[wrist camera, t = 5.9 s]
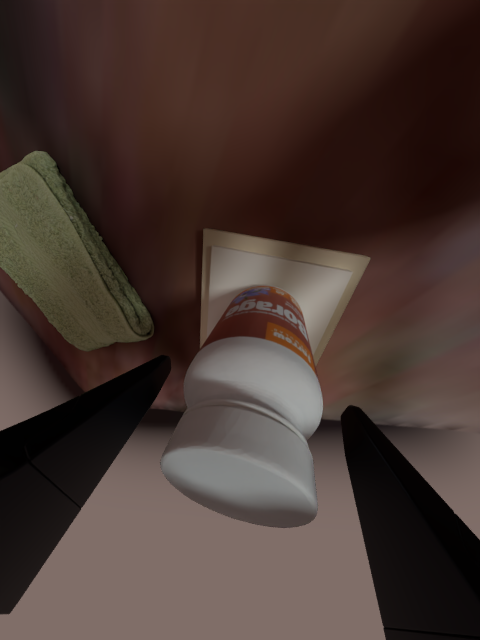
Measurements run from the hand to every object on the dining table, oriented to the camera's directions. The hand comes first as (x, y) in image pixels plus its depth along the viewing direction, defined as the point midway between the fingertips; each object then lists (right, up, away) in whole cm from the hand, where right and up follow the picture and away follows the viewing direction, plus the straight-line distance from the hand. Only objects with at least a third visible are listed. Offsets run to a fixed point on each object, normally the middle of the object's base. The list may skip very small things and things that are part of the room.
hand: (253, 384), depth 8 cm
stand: (+2, +4, +8) cm, 9 cm away
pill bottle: (+1, +3, +6) cm, 7 cm away
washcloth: (-19, +8, +11) cm, 23 cm away
